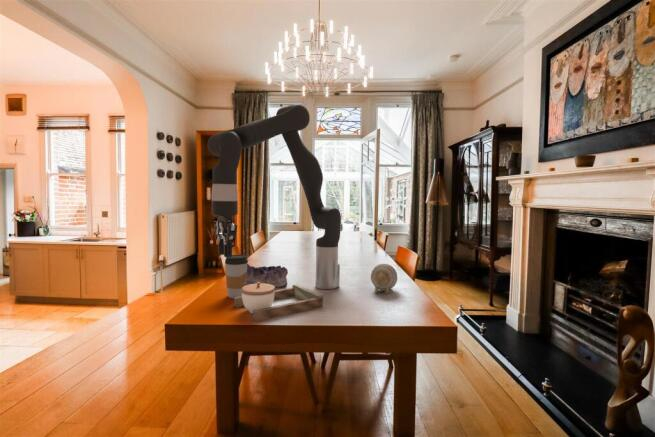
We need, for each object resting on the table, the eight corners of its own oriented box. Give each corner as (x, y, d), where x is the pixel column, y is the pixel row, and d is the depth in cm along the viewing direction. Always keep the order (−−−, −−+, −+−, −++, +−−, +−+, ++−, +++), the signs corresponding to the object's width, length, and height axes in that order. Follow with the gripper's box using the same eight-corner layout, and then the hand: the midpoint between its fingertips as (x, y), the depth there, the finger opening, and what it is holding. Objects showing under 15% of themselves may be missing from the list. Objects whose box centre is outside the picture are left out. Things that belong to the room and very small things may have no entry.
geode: (237, 291, 131) (236, 265, 132) (239, 287, 142) (238, 263, 143) (289, 287, 135) (288, 262, 136) (287, 283, 146) (286, 260, 147)
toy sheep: (367, 295, 128) (368, 266, 127) (373, 284, 144) (374, 259, 143) (395, 297, 125) (396, 268, 124) (398, 286, 141) (399, 260, 140)
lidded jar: (246, 318, 101) (246, 288, 101) (238, 308, 111) (238, 280, 110) (279, 313, 106) (279, 284, 106) (269, 303, 116) (269, 277, 115)
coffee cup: (241, 300, 119) (241, 259, 118) (220, 298, 121) (220, 257, 120) (251, 293, 127) (251, 255, 126) (231, 292, 129) (231, 254, 128)
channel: (297, 294, 127) (297, 284, 127) (322, 306, 114) (323, 294, 113) (234, 306, 112) (234, 294, 112) (255, 321, 99) (255, 308, 99)
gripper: (246, 200, 96) (246, 258, 97) (228, 199, 108) (228, 251, 109) (220, 199, 92) (220, 260, 93) (205, 199, 103) (205, 253, 104)
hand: (225, 255), depth 101 cm, fingers open, 4 cm apart
